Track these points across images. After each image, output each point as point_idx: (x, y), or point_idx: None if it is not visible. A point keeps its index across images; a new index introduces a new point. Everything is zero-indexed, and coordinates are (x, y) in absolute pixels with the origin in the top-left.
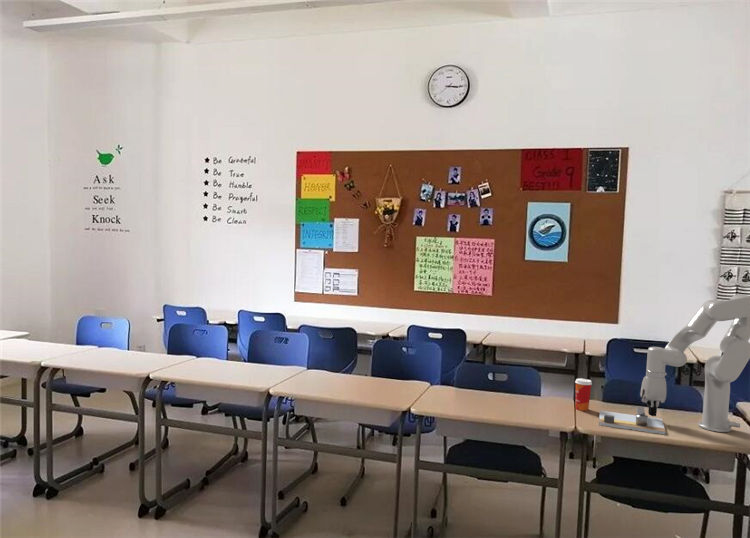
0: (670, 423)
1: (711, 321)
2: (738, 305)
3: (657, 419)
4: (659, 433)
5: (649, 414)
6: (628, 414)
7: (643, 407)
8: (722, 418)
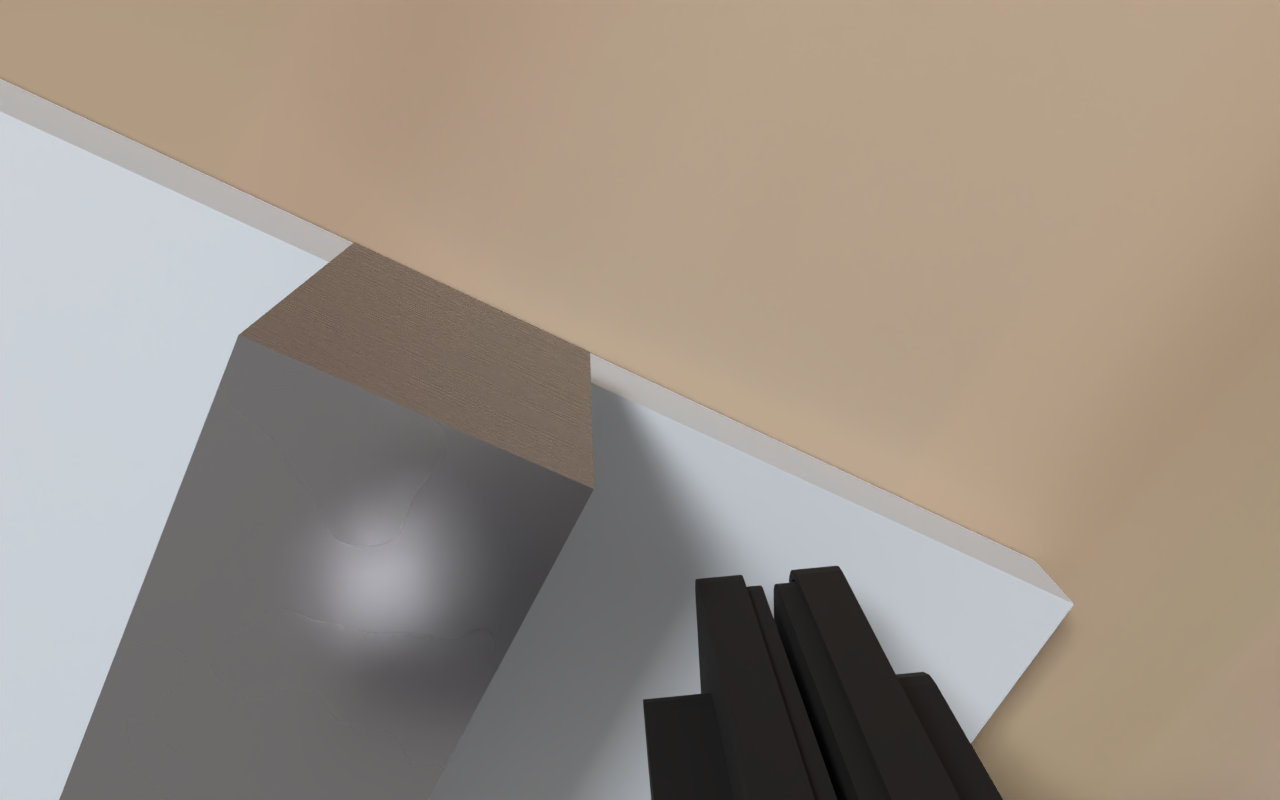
0: (1185, 675)
1: None
2: None
3: (892, 651)
4: None
5: (698, 626)
6: (46, 136)
7: (526, 563)
8: None
